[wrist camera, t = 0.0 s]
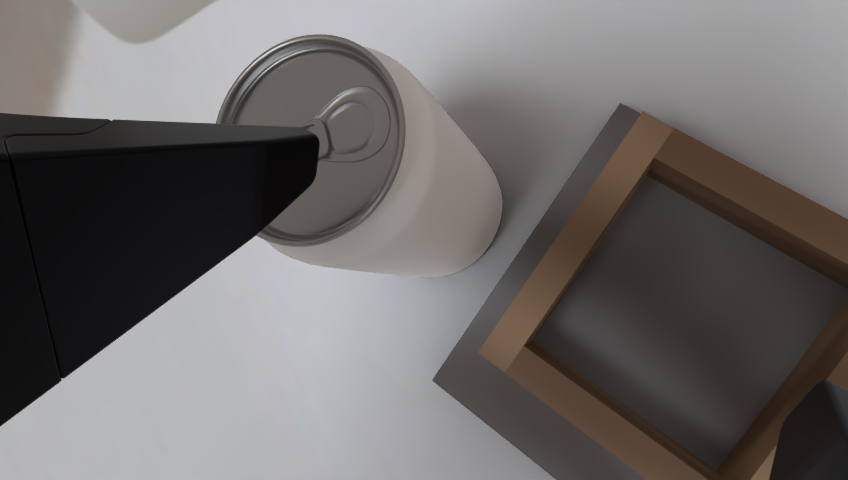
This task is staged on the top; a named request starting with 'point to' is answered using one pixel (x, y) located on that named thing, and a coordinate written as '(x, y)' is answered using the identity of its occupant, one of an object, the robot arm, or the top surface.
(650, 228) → the socket holder
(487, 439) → the top surface
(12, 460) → the top surface
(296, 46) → the can
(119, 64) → the top surface
